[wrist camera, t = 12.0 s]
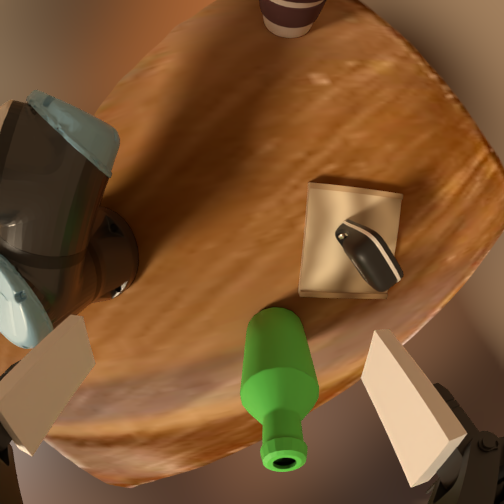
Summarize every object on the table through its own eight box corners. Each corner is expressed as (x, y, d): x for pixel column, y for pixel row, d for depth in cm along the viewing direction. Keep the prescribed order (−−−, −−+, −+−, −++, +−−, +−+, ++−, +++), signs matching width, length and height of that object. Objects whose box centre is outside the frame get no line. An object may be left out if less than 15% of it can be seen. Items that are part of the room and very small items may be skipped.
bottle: (303, 349, 44) (329, 478, 20) (250, 354, 44) (241, 485, 20) (301, 301, 42) (338, 428, 18) (243, 307, 42) (225, 438, 18)
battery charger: (325, 233, 38) (351, 254, 27) (347, 216, 37) (379, 230, 26) (353, 270, 39) (383, 302, 28) (372, 254, 38) (409, 280, 27)
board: (298, 291, 41) (299, 296, 40) (308, 182, 37) (310, 182, 36) (382, 294, 41) (386, 299, 39) (397, 193, 37) (403, 194, 35)
